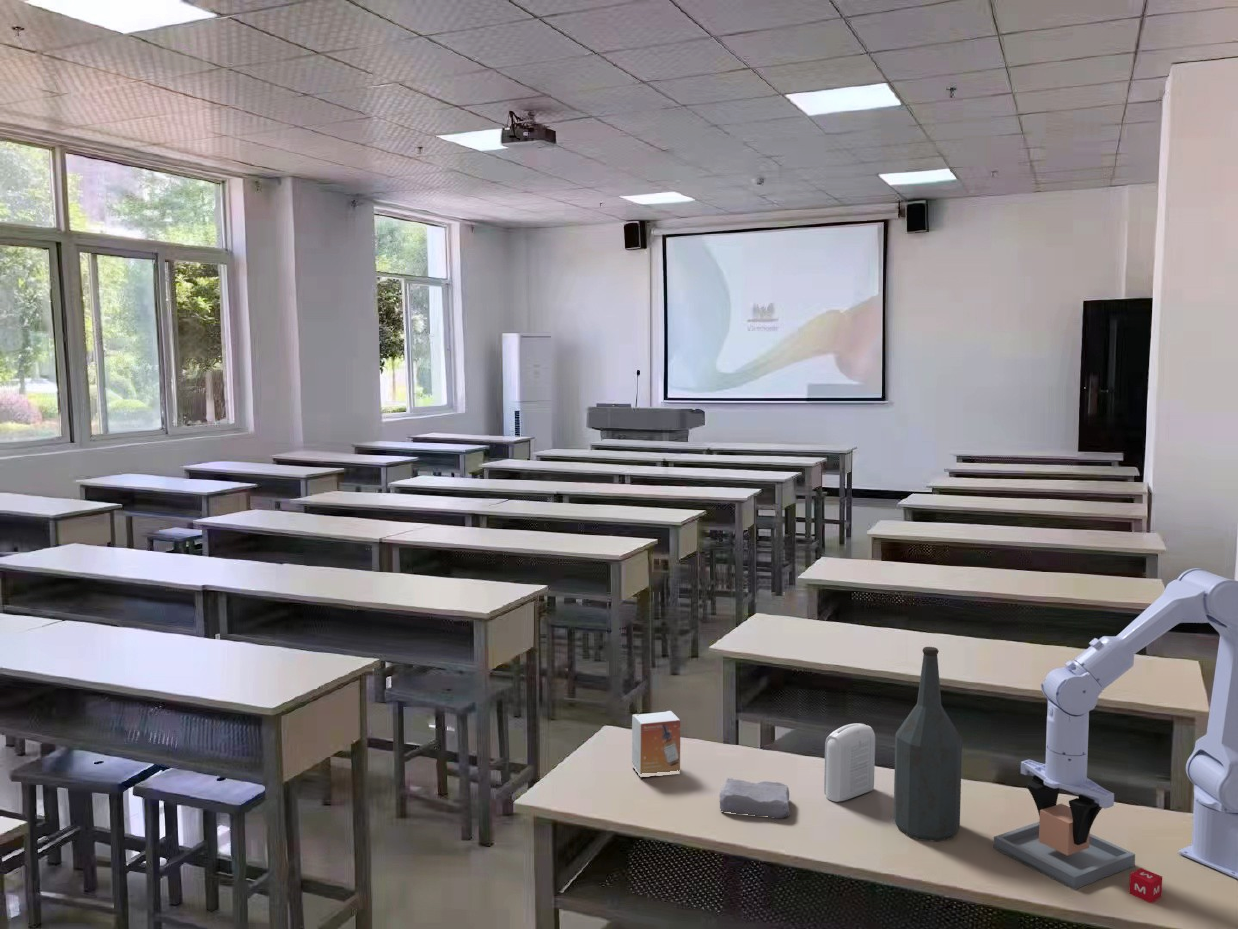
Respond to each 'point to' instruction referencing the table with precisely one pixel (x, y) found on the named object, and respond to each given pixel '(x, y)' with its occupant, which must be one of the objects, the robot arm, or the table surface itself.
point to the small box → (656, 742)
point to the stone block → (755, 798)
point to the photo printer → (849, 762)
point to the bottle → (928, 763)
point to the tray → (1065, 857)
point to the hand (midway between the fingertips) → (1063, 835)
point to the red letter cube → (1145, 885)
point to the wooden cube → (1059, 830)
